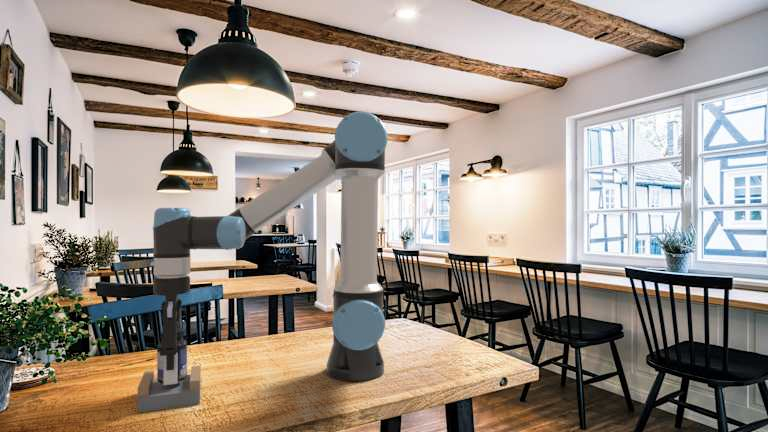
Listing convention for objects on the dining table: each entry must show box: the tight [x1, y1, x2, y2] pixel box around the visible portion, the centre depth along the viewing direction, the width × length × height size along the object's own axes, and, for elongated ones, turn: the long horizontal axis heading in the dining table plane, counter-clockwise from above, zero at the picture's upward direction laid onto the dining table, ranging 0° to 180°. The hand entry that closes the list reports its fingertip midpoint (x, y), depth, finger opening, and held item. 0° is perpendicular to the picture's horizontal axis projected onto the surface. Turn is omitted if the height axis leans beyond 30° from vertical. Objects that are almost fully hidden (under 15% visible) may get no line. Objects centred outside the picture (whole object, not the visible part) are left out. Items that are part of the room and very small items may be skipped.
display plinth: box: [136, 365, 202, 414], centre depth 102 cm, size 12×12×5 cm
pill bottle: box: [156, 327, 188, 384], centre depth 102 cm, size 6×6×11 cm
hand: (171, 378), depth 102 cm, fingers closed on pill bottle, 6 cm apart
